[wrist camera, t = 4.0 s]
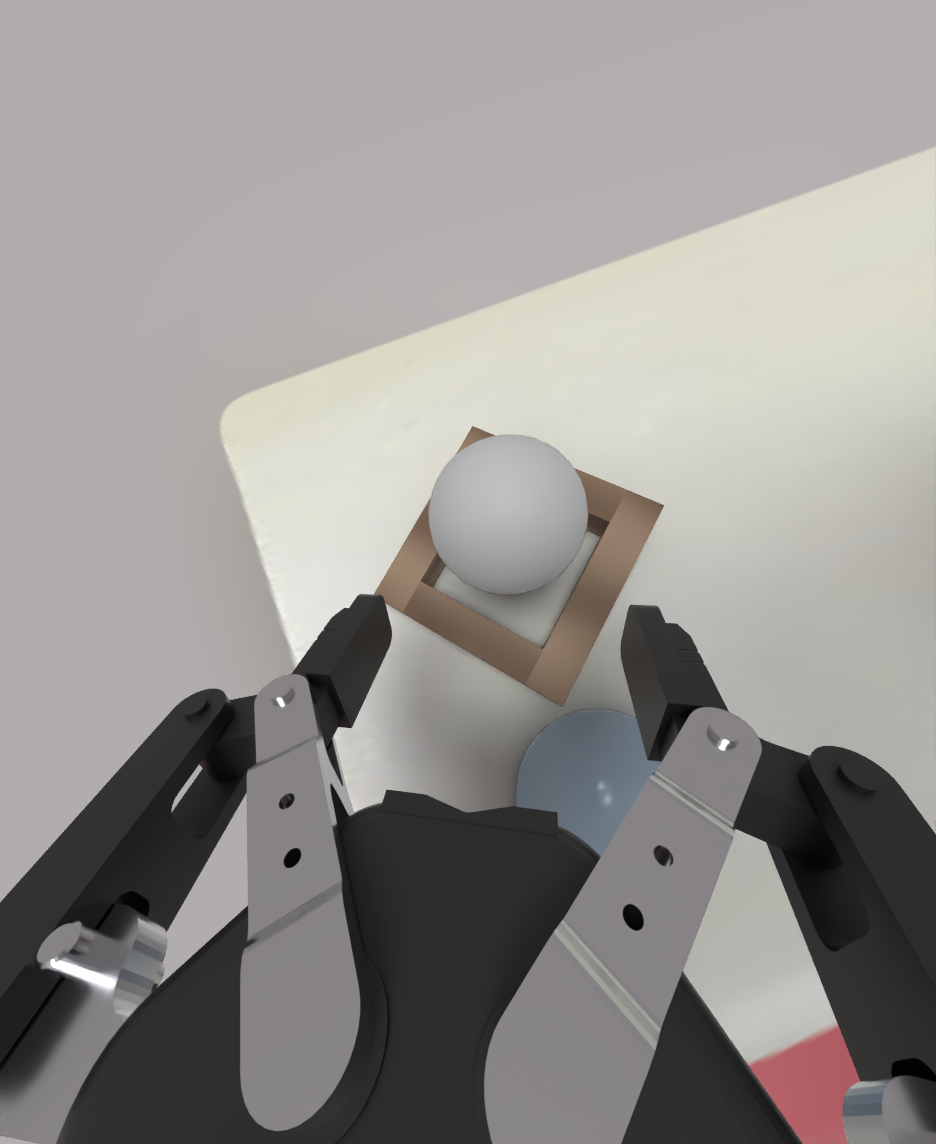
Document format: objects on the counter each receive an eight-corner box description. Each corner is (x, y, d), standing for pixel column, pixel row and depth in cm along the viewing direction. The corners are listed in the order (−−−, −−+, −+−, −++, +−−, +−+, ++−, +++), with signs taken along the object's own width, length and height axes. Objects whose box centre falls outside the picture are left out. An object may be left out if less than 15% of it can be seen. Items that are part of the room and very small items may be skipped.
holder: (478, 448, 24) (472, 426, 22) (648, 521, 21) (664, 505, 19) (389, 601, 23) (373, 595, 20) (557, 699, 20) (561, 706, 18)
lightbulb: (498, 633, 21) (467, 617, 11) (447, 549, 23) (375, 463, 12) (587, 577, 21) (646, 505, 10) (529, 497, 23) (529, 363, 12)
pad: (564, 677, 20) (566, 678, 19) (731, 771, 18) (742, 778, 17) (486, 829, 19) (484, 838, 18) (652, 948, 17) (660, 966, 16)
